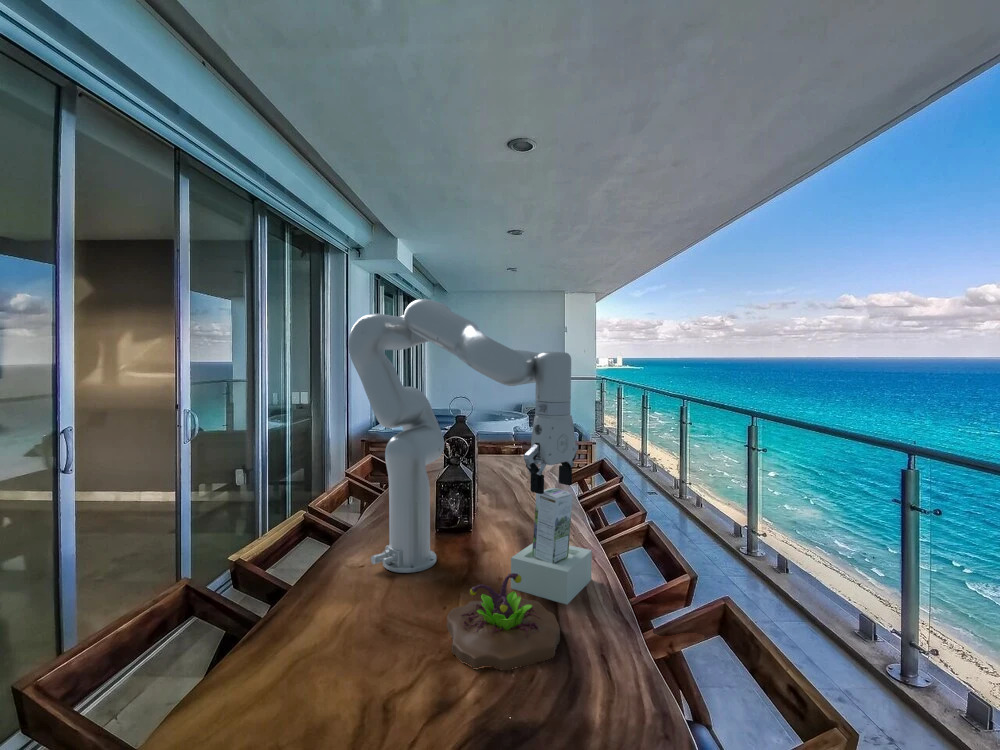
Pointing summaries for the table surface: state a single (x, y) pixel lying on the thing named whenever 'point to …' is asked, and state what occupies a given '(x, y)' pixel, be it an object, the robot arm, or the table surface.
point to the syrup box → (552, 525)
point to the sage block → (552, 574)
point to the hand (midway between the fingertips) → (551, 488)
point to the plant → (503, 630)
